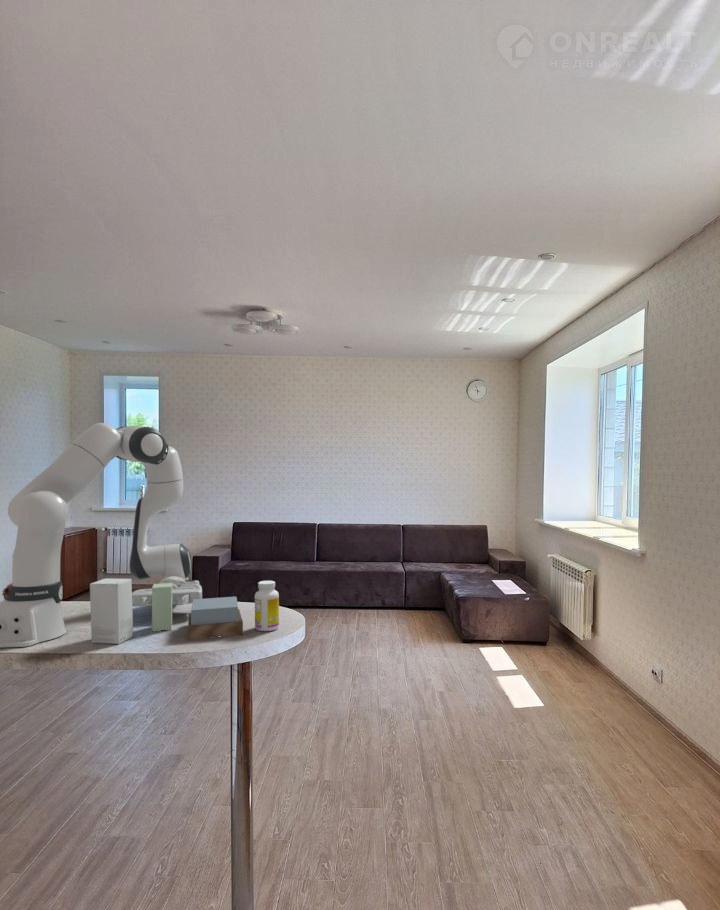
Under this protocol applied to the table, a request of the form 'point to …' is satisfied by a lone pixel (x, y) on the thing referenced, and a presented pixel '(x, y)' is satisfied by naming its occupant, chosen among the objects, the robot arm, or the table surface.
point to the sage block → (162, 607)
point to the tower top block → (214, 610)
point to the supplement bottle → (266, 607)
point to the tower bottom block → (215, 629)
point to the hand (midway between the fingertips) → (163, 602)
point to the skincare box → (111, 611)
